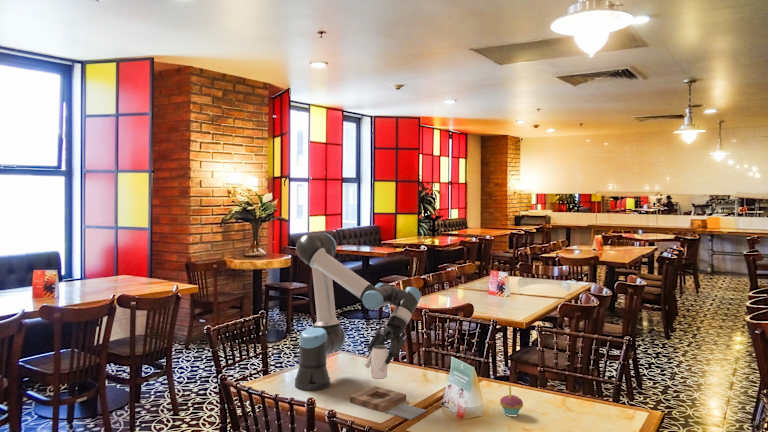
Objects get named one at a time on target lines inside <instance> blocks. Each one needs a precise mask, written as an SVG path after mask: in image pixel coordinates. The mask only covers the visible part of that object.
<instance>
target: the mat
mask: <svg viewBox="0 0 768 432" xmlns="http://www.w3.org/2000/svg"><path fill="white" fill-rule="evenodd" d="M427 411H428V410H427V409H424V408H420V407H417V406H414V405H410V404H406V403H400V404H398V405H396V406H394V407H392V408H390V409H388V410H386V414H390V415H393V416H397V417H400V418H402V419H406V420H410V421H411V420H413V419H415V418H417V417H419V416H421V415H422V414H425V413H426V412H427Z"/></svg>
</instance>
